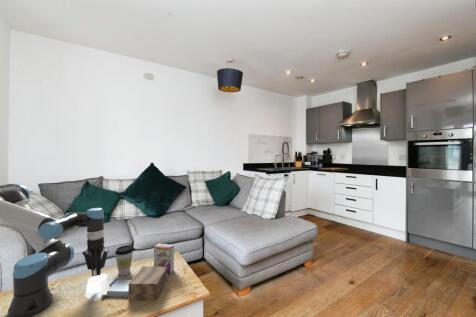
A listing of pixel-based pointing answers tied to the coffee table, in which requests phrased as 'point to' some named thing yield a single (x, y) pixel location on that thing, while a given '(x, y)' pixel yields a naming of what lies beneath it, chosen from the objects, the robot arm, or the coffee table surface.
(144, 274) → the wooden box
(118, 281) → the tray
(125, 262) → the coffee cup
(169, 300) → the coffee table surface
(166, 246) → the candy bar box
